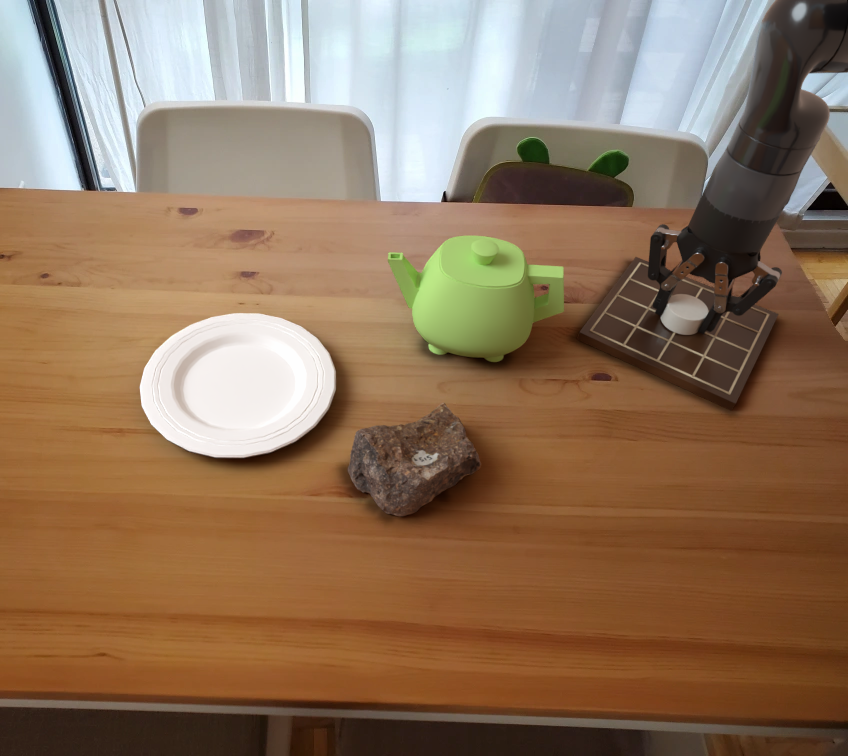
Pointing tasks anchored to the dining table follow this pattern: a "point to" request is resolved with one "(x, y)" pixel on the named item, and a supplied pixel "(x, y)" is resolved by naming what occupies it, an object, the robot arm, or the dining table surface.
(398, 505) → the rock
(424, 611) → the dining table surface
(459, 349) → the teapot
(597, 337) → the board
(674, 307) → the white cylindrical puck
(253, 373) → the plate
